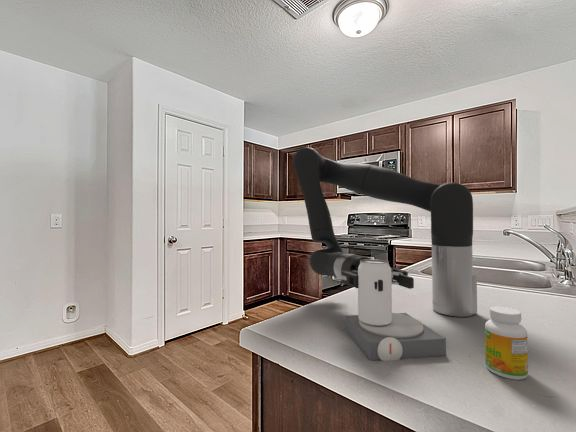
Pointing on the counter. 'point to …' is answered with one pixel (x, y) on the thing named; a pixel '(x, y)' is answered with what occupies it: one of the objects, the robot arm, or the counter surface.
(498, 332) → the supplement bottle
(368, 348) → the scale
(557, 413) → the counter surface
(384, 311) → the can
